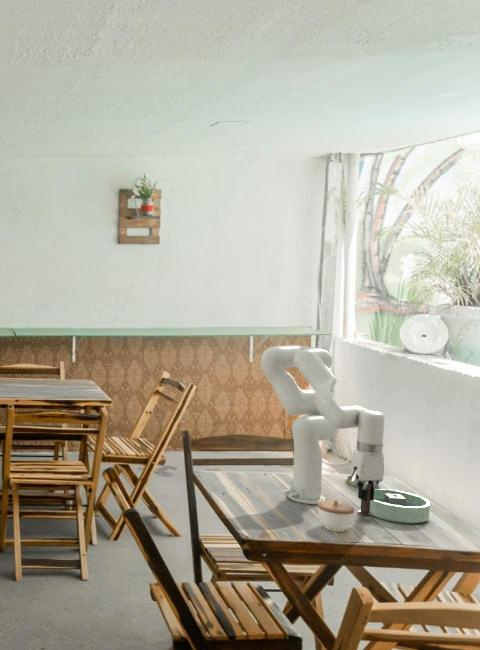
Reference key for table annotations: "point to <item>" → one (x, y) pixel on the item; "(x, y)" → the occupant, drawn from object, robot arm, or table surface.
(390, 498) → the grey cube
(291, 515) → the table surface
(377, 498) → the bowl
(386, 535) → the table surface
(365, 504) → the muddler
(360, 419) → the robot arm
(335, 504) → the trinket box
